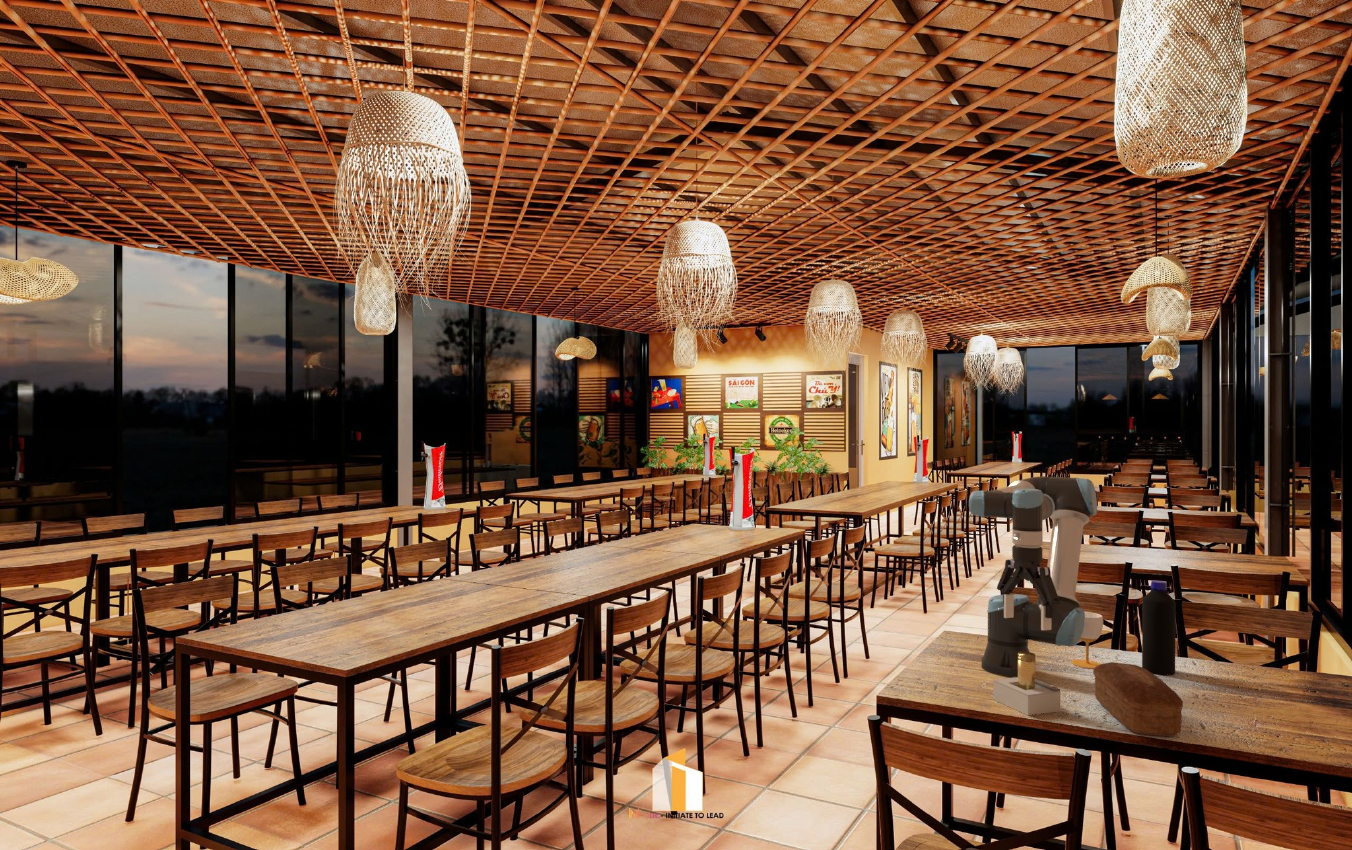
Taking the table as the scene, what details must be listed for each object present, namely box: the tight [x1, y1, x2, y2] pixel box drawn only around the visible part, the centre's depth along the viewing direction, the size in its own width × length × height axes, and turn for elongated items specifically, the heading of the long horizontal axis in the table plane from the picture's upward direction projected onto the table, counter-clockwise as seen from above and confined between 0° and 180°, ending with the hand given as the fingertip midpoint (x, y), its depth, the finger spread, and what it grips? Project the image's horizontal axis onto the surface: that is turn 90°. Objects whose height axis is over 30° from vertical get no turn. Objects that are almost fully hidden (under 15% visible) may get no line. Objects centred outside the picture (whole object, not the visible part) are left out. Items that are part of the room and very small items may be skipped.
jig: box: [992, 677, 1061, 716], centre depth 210 cm, size 11×13×6 cm
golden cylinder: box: [1018, 651, 1036, 690], centre depth 210 cm, size 4×4×14 cm
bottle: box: [1141, 580, 1177, 676], centre depth 242 cm, size 9×9×28 cm
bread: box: [1092, 661, 1184, 737], centre depth 202 cm, size 14×28×12 cm, turn 170°
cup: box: [1070, 611, 1104, 670], centre depth 248 cm, size 9×9×16 cm
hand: (1026, 623), depth 211 cm, fingers open, 13 cm apart
